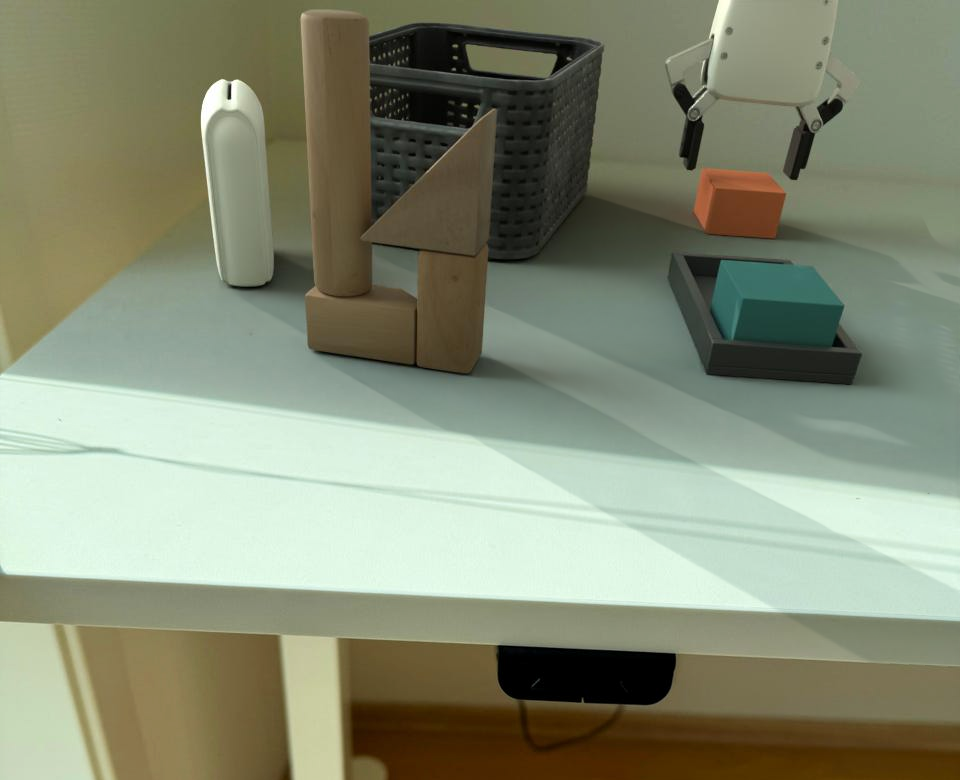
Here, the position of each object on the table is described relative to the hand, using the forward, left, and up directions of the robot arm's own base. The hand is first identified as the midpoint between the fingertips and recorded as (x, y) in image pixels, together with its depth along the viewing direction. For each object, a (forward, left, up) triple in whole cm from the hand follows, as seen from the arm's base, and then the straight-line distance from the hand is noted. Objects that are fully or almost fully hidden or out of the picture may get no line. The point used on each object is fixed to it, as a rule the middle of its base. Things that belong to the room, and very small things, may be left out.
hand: (739, 171), depth 86 cm
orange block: (0, 0, -5) cm, 5 cm away
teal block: (+4, +33, -5) cm, 33 cm away
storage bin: (+26, +2, -5) cm, 26 cm away
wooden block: (+29, +38, -5) cm, 48 cm away
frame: (+4, +28, -5) cm, 29 cm away
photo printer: (+42, +23, -5) cm, 48 cm away
